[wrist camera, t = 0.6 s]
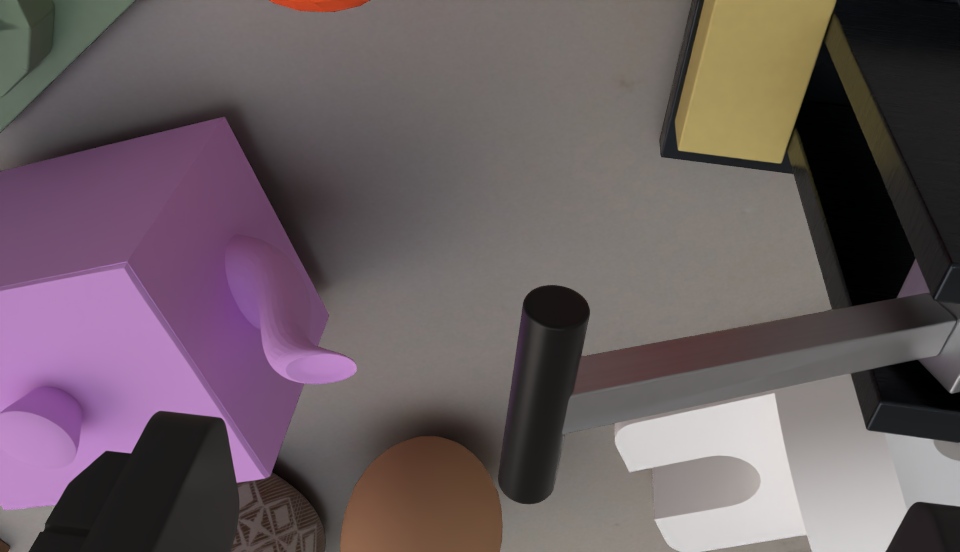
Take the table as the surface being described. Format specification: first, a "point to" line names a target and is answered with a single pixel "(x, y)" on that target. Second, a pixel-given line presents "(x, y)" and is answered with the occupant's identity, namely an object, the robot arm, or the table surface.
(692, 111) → the butter
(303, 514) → the planter
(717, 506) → the white slotted bracket
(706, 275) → the table surface
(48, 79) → the block
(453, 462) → the egg
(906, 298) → the blade
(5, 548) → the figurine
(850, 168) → the cutter stand
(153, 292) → the teapot
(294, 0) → the clementine
